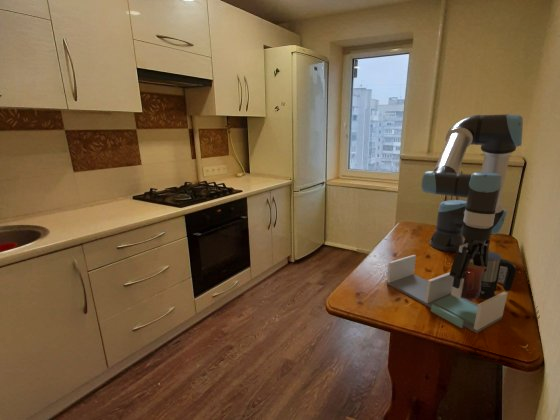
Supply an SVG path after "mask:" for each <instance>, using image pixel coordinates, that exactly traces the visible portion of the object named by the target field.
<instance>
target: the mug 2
mask: <svg viewBox="0 0 560 420" xmlns="http://www.w3.org/2000/svg"><path fill="white" fill-rule="evenodd" d="M513 265H514V266H515V268H516V267H517V266H516V265H515V264H513ZM507 269H508V268H507V267H504V266H500V271H499V276H498V281H497V284H502V285H503V284H504V280H505V277H506V273H507ZM516 269H517V268H516Z"/></svg>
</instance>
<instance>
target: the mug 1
mask: <svg viewBox="0 0 560 420" xmlns="http://www.w3.org/2000/svg"><path fill="white" fill-rule="evenodd" d="M485 268H486V267H485V266H484V265H482V266H477V265H474V262H469V265H468V267H467V269H466V271H465V274H464V276H463V278H464V283H463V289H462V294H461V298H464V299H467V300H476V299H479V298H480V297H479V295H480V292H481V279H482V275H483V272H484V270H485Z"/></svg>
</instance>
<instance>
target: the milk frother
mask: <svg viewBox="0 0 560 420" xmlns="http://www.w3.org/2000/svg"><path fill="white" fill-rule="evenodd" d="M470 262H473V259H471V260H470ZM514 265H515V264H513V263H512V261H510V260H508V259H503V256H502V255H501V254H499V253H498V252H495V251H491V250H489V251H488V266H487V268H486V269H487V270H486V272H483V275H482V279H481V292H480V295H479V298H482V299H490V298H492V297H494V296H496V294H495V292H496V290H497V285H498V282H497V281H498V276H499V271H500V266H504V267H507V268H508V269H507V273H506V277H505V280H504V284H502V288H503V290H504V292H510V291H511V290H512V285H513V283H514V280H515V277H516V273H517V268H515V266H516V265H515V266H514Z"/></svg>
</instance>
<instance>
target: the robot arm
mask: <svg viewBox="0 0 560 420" xmlns="http://www.w3.org/2000/svg"><path fill="white" fill-rule="evenodd" d="M523 120H524V119H523V117H522V115H520V114H509V113H507V114H478V115H477V114H476V115H475V114H474V115H471V116H467V117H465V118H463V119H461V120H459V121H457V122H456V123H454V125H452V126H451V128H450V129H449V130H448V131H447V133H446V135H445V138H444V140H445V144H444V147H443V148H442V151H441V153H440V155H439V158H438V161H437V162H436V164H435V167H434V169H433V170H431V171H424V173H423V174H422V179H421V191H422V192H424V193H427V194H428V193H429V194H433V195H441V196H442V195H443V196H451V197H458V198H466V200H461V199H449V200H444V201H441V202H440V203H439V207H438V209H437V212H438V213H437V219H436V220H437V221H436V224H435V225H436V227H435V230H434V232H433V234H432V235H431V238H430V241H429V245H430V246H431V247H432V248H434V249H436V250H439V251H440V250H441V251H443V252H449V253H450V252H451V253H455V255H454V258H453V261H452V265H451V268H450V271H449V272H450V274H449V275H450V276H452V277H454V279H453V285H452V291H451V295H453V296H455V297H457V298H459V299H460V298H461V294H462V289H463V283H464V278H463V276H464V274H465V271H466V269H467V267H468V265H469V262H470V260H471V259H473V262H474V265H477V266H482V265H484V266H485V267H486V268H487V266H488V251H490V250H489V249H490V248H489V247H490V243H491V240H490V239H491V237H492V236H491V235H492V234H493V235H496V234H498V233H500V232H501V230H502V228H503V225H504V223H505V220H506V217H507V209H505V208H504V205H503V204H502V203H501V199H502V195H503V190H504V186H505V181H506V176H507V170H508V165H509V161H510V157H511V154H513V153H514V152H515V151H516V150H517V148H518V147H521V146H522V142H523V126H524V125H523V123H524V122H523ZM474 145H476V146H480V151H481V152H482V153H483V158H482V159H483V160H482V167H481V171H475V172H473V173H471V174H469V173H459V171H460V170H461V169H460V168H461V165H462V163H463V160H464V157H465V155H466V152H467V148H469V147H470V146H474ZM486 268H485V270H484V272H486V270H487V269H486Z"/></svg>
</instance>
